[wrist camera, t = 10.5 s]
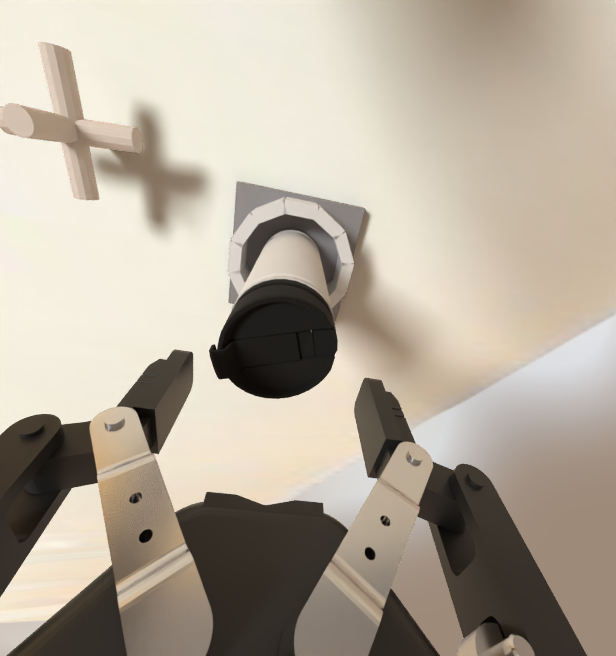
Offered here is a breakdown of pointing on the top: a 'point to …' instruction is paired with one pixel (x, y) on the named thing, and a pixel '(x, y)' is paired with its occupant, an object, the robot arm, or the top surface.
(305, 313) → the travel mug
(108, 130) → the pipe connector
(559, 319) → the top surface
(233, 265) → the duct collar
